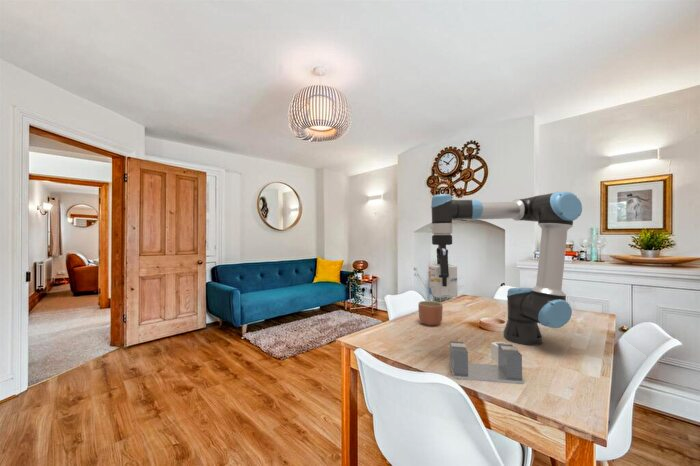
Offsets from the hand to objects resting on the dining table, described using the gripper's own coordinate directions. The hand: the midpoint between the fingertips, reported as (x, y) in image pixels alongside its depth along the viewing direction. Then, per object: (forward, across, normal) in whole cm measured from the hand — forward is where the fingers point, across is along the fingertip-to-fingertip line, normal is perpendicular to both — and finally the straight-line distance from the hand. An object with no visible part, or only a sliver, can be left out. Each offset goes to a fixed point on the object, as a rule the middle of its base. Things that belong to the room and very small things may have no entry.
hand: (442, 292), depth 113 cm
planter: (+26, -42, -2) cm, 50 cm away
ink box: (+1, 0, 0) cm, 1 cm away
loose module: (+26, 0, +22) cm, 34 cm away
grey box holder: (+26, +11, +12) cm, 30 cm away
